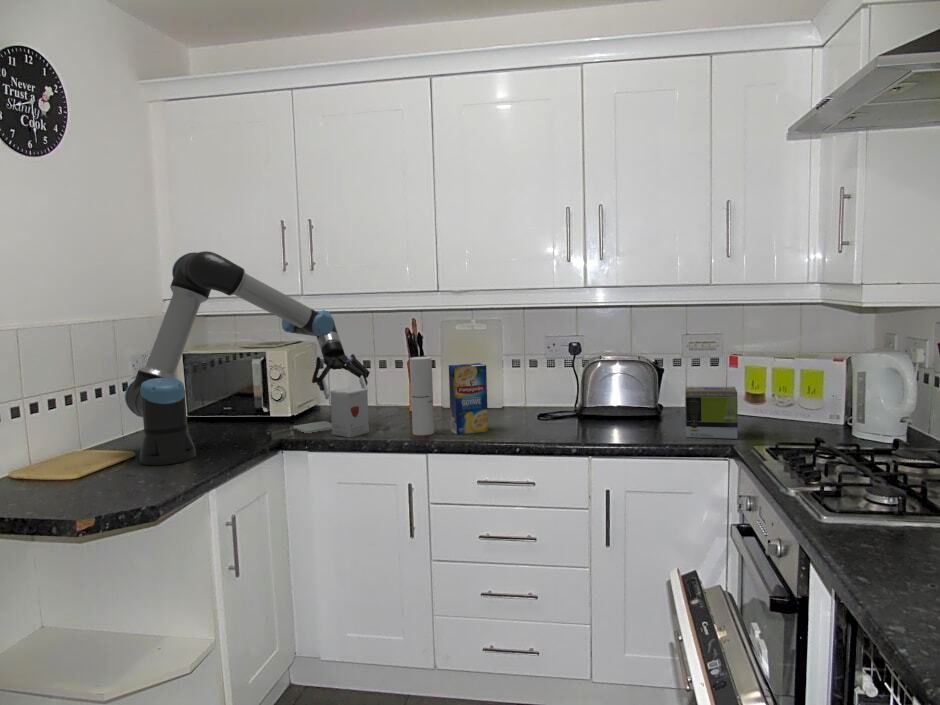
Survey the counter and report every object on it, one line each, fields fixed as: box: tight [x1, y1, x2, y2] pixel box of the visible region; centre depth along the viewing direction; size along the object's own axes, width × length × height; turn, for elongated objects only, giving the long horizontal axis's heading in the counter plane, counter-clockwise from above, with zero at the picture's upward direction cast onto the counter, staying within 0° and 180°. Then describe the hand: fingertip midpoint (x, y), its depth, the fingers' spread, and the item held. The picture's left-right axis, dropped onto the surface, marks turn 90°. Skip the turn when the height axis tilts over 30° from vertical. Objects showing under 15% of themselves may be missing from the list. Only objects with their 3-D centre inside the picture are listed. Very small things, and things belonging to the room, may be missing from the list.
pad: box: [292, 420, 332, 434], centre depth 237 cm, size 12×11×1 cm
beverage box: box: [448, 362, 489, 436], centre depth 225 cm, size 7×11×22 cm, turn 109°
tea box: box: [684, 386, 739, 440], centre depth 210 cm, size 15×10×15 cm, turn 72°
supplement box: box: [329, 386, 370, 438], centre depth 227 cm, size 9×9×15 cm
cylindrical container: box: [409, 356, 435, 436], centre depth 224 cm, size 7×7×25 cm
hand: (347, 395), depth 231 cm, fingers open, 13 cm apart
